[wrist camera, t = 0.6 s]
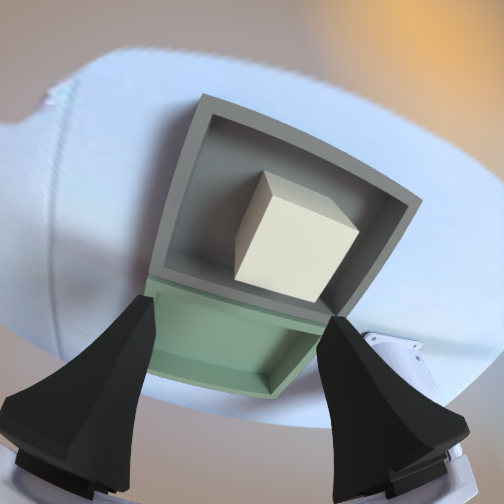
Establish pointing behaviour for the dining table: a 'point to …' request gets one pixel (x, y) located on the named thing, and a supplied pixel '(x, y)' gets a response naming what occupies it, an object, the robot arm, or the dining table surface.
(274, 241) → the stone block
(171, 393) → the dining table surface
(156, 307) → the tray
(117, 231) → the dining table surface
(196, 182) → the tray
